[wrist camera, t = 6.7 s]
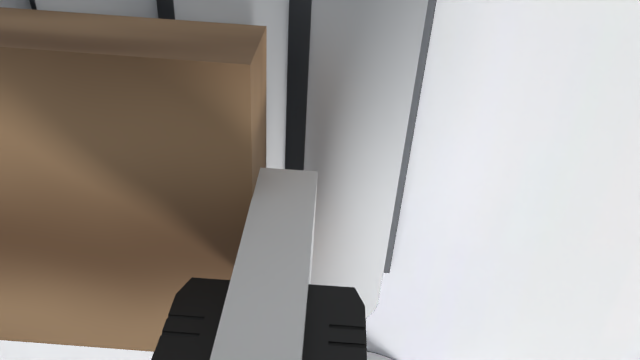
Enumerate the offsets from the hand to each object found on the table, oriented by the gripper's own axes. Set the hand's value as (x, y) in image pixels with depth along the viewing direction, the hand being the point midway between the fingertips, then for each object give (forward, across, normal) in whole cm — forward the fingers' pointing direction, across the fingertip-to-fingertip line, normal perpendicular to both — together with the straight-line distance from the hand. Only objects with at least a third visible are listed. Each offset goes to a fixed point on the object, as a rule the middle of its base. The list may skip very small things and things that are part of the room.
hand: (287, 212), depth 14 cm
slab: (+1, -8, 0) cm, 8 cm away
